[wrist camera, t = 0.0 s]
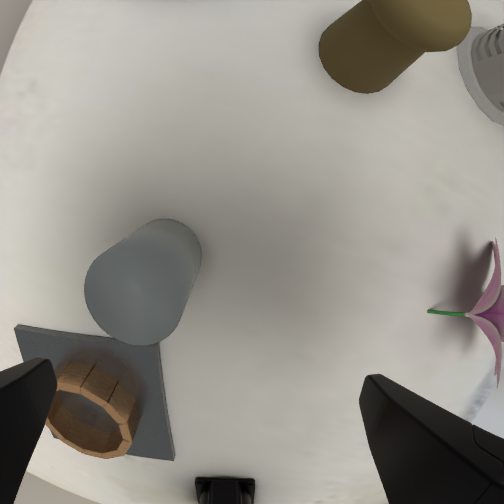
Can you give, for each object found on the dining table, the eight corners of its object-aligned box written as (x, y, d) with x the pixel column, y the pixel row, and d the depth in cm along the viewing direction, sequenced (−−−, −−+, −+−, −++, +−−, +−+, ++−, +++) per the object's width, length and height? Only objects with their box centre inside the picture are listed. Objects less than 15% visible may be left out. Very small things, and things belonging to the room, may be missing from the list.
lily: (452, 361, 27) (531, 375, 19) (388, 383, 22) (498, 414, 13) (464, 246, 28) (545, 243, 19) (405, 227, 22) (521, 218, 14)
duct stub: (201, 289, 23) (185, 348, 15) (134, 286, 22) (92, 340, 15) (201, 219, 21) (181, 248, 14) (130, 218, 21) (78, 245, 13)
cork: (408, 80, 19) (507, 41, 9) (344, 105, 20) (430, 60, 9) (370, 13, 18) (442, -58, 7) (302, 33, 18) (350, -56, 8)
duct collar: (175, 455, 27) (170, 482, 23) (56, 433, 26) (43, 455, 23) (158, 342, 24) (146, 369, 20) (18, 324, 23) (-4, 343, 19)
